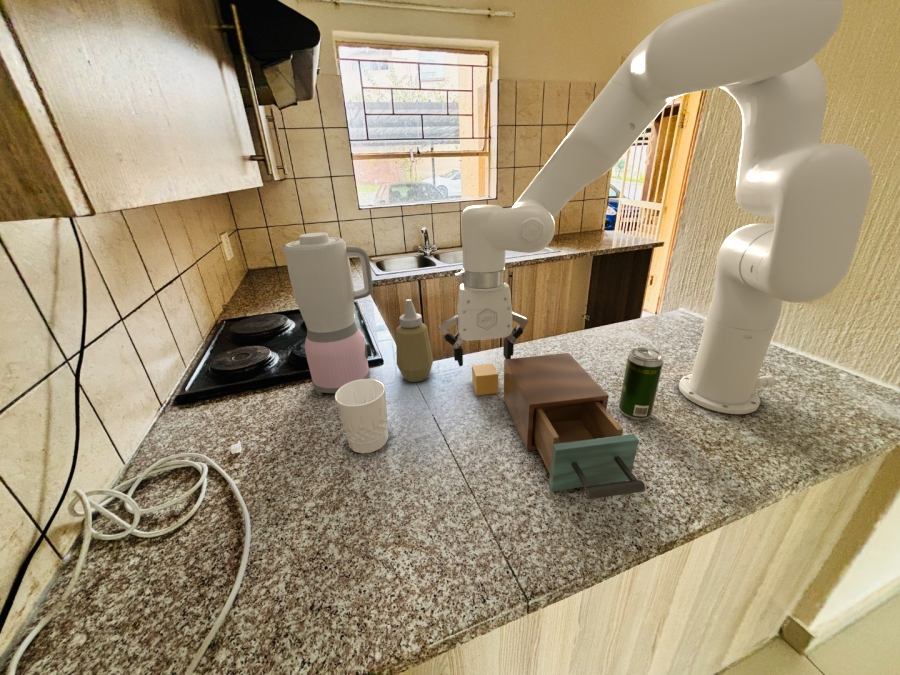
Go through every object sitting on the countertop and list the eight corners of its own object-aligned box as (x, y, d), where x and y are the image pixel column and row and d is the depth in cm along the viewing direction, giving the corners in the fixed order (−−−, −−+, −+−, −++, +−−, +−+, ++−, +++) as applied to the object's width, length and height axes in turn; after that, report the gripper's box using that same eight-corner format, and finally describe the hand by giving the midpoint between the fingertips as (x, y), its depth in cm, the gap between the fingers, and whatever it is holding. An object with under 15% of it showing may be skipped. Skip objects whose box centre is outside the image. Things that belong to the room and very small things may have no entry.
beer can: (657, 420, 63) (671, 360, 58) (626, 422, 63) (638, 362, 58) (641, 402, 68) (653, 345, 63) (613, 404, 68) (623, 347, 63)
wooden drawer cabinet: (601, 441, 59) (608, 395, 55) (526, 451, 58) (529, 404, 54) (564, 392, 72) (568, 352, 68) (503, 399, 71) (504, 359, 67)
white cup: (399, 429, 64) (393, 382, 60) (377, 460, 57) (368, 409, 53) (361, 422, 67) (352, 375, 62) (336, 451, 60) (324, 401, 56)
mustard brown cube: (492, 381, 77) (493, 363, 75) (498, 393, 73) (498, 374, 71) (472, 383, 77) (471, 365, 75) (476, 395, 73) (475, 376, 71)
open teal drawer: (655, 513, 46) (667, 470, 42) (568, 526, 44) (574, 483, 41) (585, 420, 63) (590, 385, 60) (522, 428, 62) (523, 392, 59)
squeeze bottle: (429, 386, 77) (422, 307, 69) (393, 384, 78) (382, 306, 71) (437, 368, 84) (432, 294, 76) (404, 365, 85) (396, 293, 78)
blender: (310, 402, 73) (270, 243, 60) (315, 373, 84) (282, 232, 71) (388, 389, 76) (366, 235, 63) (383, 363, 87) (364, 226, 74)
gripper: (438, 287, 61) (442, 374, 68) (537, 280, 63) (531, 365, 70) (434, 275, 68) (439, 356, 75) (523, 269, 69) (519, 348, 77)
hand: (483, 360), depth 72 cm, fingers open, 9 cm apart
